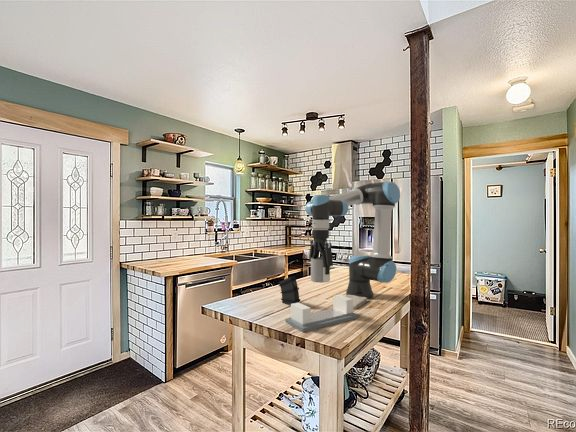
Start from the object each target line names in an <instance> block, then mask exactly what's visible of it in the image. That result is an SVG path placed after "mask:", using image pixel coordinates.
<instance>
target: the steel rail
mask: <svg viewBox="0 0 576 432" xmlns="http://www.w3.org/2000/svg"><path fill="white" fill-rule="evenodd" d="M353 313H354V311H353V312H352V313H348V314H346V313H343V312H341V311H339V310H336V309H334V308H329V309H323V310H319V311H315V313H314V312H311V322H310V323H306V324H301V323H299V322H298V321H296V320H294V319H292V318H291V317H290V318H291V320H292V321H294V322H296V323H298V324H300V325H301V326H306V325H310V324H314V323H318V322H322V321H326V320H330V319H335V318H339V317H343V316H347V315H351V314H353Z"/></svg>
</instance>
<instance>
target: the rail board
mask: <svg viewBox="0 0 576 432" xmlns="http://www.w3.org/2000/svg"><path fill="white" fill-rule="evenodd" d="M315 312H316V311H315ZM315 312H313V313H315ZM359 316H360V314H358V313H356V312H353V314H351V315H347V316H343V317H339V318H335V319H330V320H326V321H322V322H318V323H314V324H310V325H306V326H301V325H300V324H298V323H296V322H294V321H292V320H291V317H289V318H285V323H286V324H287V323H288V324H287V325H289V324H290V325H289V326H291V327H292V328H294V327H295V328H294V329H296V330H298V331H299V330H300V332H301V333H305V332H309V331H314V330H318V329H320V328H324V327H328V326H332V325H336V324H337V325H338V324H340V323H344V322H348V321H349V322H350V321H352V320H357V319H359Z"/></svg>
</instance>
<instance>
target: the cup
mask: <svg viewBox="0 0 576 432" xmlns="http://www.w3.org/2000/svg"><path fill="white" fill-rule="evenodd" d="M326 264H327V263H326ZM323 266H324V263H323V258H322V256H318V258H316V259H314V257H312V258H311V261H310V281H311V282H313V283H323V284H324V282H323ZM330 276H331V272H330V273H329V282H330V280H331V277H330Z"/></svg>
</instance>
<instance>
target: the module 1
mask: <svg viewBox="0 0 576 432" xmlns="http://www.w3.org/2000/svg"><path fill="white" fill-rule="evenodd" d="M311 311H312V307H310V306H308V305H305V304H303V303H301V302H298V303H293V304H291V306H290V318H292V319H294V320H296V321H298V322H299V323H301V324H306V323H310V322H311V313H312V312H311Z"/></svg>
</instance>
